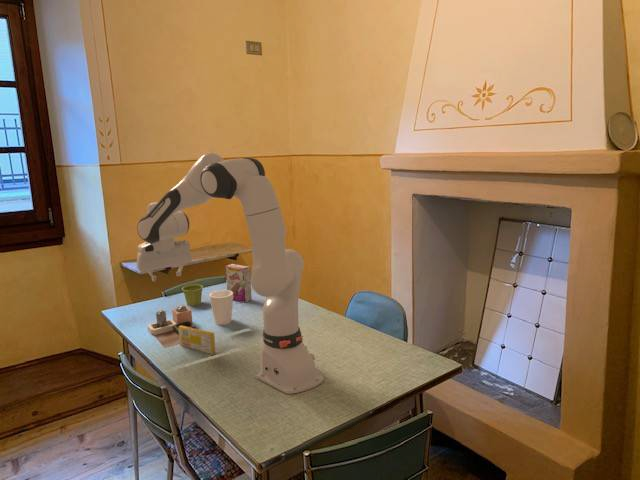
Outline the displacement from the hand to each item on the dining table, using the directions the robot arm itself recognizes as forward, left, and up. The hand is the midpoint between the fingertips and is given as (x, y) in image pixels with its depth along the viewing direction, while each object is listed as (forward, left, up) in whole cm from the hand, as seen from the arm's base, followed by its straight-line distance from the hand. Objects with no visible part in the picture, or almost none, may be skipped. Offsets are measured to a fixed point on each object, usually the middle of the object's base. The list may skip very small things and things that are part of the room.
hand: (166, 278), depth 182 cm
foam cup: (-5, -19, -22) cm, 30 cm away
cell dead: (+3, -5, -21) cm, 22 cm away
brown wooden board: (-4, 0, -22) cm, 23 cm away
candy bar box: (+18, -37, -22) cm, 47 cm away
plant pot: (+24, -17, -22) cm, 37 cm away
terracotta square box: (+3, -5, -22) cm, 23 cm away
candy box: (-23, -2, -22) cm, 32 cm away
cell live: (+2, +3, -21) cm, 21 cm away
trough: (+2, +3, -22) cm, 22 cm away
